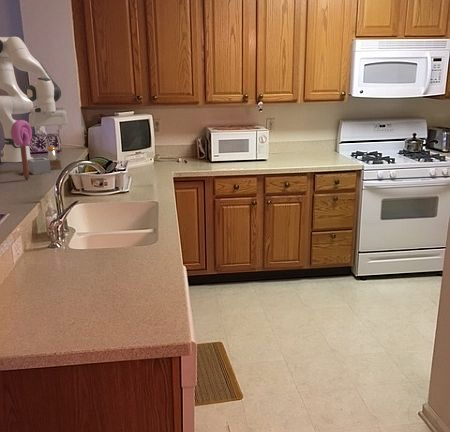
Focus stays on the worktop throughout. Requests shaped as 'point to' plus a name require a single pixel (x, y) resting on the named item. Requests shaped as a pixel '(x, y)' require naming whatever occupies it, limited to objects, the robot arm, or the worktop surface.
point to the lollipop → (22, 141)
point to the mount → (55, 164)
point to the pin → (51, 153)
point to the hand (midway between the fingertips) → (49, 134)
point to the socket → (39, 166)
